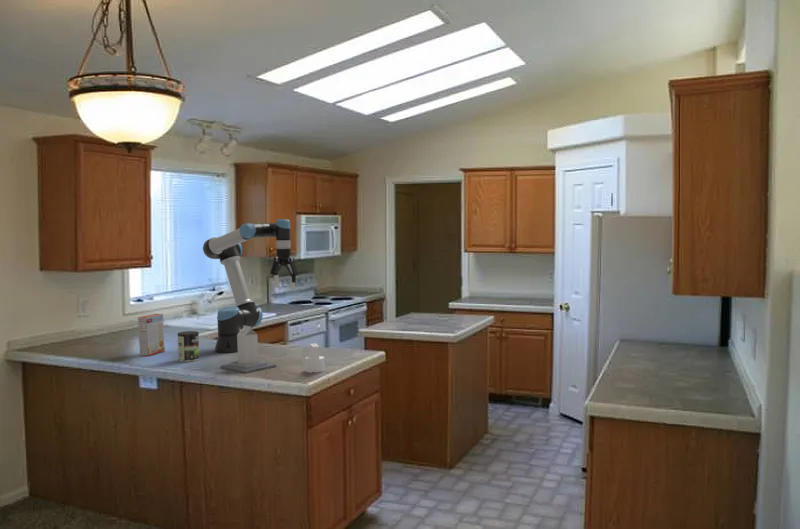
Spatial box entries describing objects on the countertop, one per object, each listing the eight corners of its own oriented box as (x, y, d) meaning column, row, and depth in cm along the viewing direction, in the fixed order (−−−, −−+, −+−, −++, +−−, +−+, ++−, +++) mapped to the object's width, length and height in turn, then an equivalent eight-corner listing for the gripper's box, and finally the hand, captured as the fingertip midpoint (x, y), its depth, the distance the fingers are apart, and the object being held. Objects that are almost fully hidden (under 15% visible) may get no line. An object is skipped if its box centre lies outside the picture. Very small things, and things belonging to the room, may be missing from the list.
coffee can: (203, 358, 344) (202, 331, 343) (193, 362, 334) (192, 334, 333) (185, 357, 346) (184, 330, 345) (174, 361, 336) (173, 334, 335)
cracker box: (155, 351, 365) (154, 313, 364) (165, 351, 364) (163, 313, 362) (138, 356, 352) (137, 316, 351) (148, 356, 350) (147, 317, 349)
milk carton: (251, 362, 326) (249, 324, 325) (258, 365, 321) (257, 326, 319) (237, 365, 321) (236, 326, 320) (245, 367, 316) (244, 327, 315)
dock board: (220, 367, 320) (220, 365, 320) (250, 361, 334) (250, 359, 334) (245, 373, 307) (245, 371, 307) (276, 366, 321) (276, 364, 321)
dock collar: (229, 365, 320) (229, 362, 320) (251, 361, 329) (250, 358, 329) (245, 369, 312) (245, 365, 312) (266, 364, 321) (266, 361, 321)
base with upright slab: (326, 371, 309) (325, 346, 308) (306, 373, 306) (306, 347, 306) (322, 367, 318) (322, 342, 317) (304, 369, 315) (303, 344, 314)
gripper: (304, 248, 348) (305, 288, 349) (274, 247, 364) (275, 286, 365) (293, 248, 342) (294, 289, 343) (263, 248, 358) (264, 287, 359)
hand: (284, 288), depth 354 cm, fingers open, 13 cm apart
